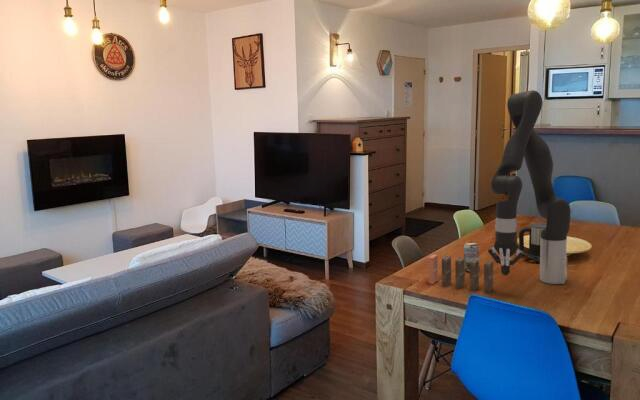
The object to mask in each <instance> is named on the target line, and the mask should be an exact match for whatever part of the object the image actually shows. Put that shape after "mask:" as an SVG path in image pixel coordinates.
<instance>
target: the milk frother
mask: <svg viewBox="0 0 640 400" xmlns="http://www.w3.org/2000/svg"><path fill="white" fill-rule="evenodd" d="M546 223H547V222H531V223H530V224H529V225H530V226H523V227H522V228H521V229H519V231H518V249H519V250H521V251H523V252H524V250H525V242H524V241H525V240H524V239H525V238H524V235H525V233H529V241H528V245H529V246H528V247H529V248H528V253H527V252H524V254H523V256H525V257H527V258H528V259H531V260H532V261H534V262H535V263H537V262H538V263H540V246H541V231H542V230H543V229H545V228H546Z"/></svg>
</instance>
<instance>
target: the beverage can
mask: <svg viewBox="0 0 640 400" xmlns="http://www.w3.org/2000/svg"><path fill="white" fill-rule="evenodd" d="M479 251H480V250H479V245H478V244H477V242H469V243H468V242H466V243H464V246H463V258H465V271H468V272H470V262H471V261H472V260H473V259H479V260H480V254H479V253H480V252H479ZM479 270H480V265H479Z"/></svg>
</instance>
